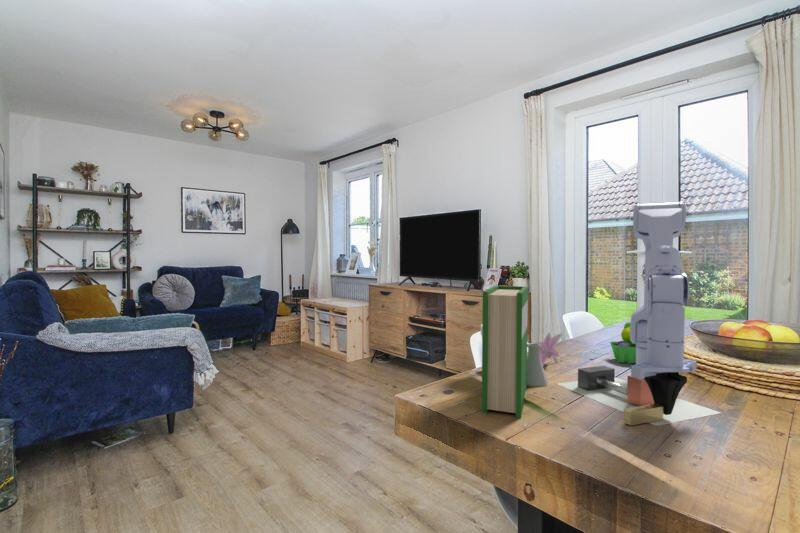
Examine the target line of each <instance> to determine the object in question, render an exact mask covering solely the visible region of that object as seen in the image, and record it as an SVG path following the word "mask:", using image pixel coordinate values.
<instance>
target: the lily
mask: <svg viewBox="0 0 800 533" xmlns="http://www.w3.org/2000/svg"><path fill="white" fill-rule="evenodd" d="M562 336H563V333H558V334H556V335H554V336H551V333H550V332H548V333H547V334H546V336H545V338H544V339H543V341H537V342H534V343H535V344H540V345H541V348H540V357H541V362H542V365H543V366H544V365H545V363H546V361H547V360H548V359H554V361H555V363H556V364H558V361H557V359H556V358H559V357H560V355H559V352H558V351H557V350H556V348H555V346H556V345H557V343H558V342H559V340H560V339H561V338H562Z"/></svg>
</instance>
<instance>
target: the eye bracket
mask: <svg viewBox="0 0 800 533" xmlns="http://www.w3.org/2000/svg"><path fill="white" fill-rule="evenodd" d="M615 370H616V369H615V368H612V367H610V366H606V365H599V366H598V365H597V366H592V367H591V366H589V367H581V368H578V369H577V381H578V387H579V388H582V389H584V390H587V391H591V390H598V389H605V388H606V387H603V386H601V385H598V384H597V377H599V378H602V379H605V380H608V381H611V382H614V378H615V377H616V376H615V374H616V373H615Z"/></svg>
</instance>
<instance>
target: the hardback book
mask: <svg viewBox="0 0 800 533" xmlns="http://www.w3.org/2000/svg"><path fill="white" fill-rule="evenodd" d="M528 299H529V286H519V285H517V286H516V285H515V286H513V285H493V286H492V287H489V288H488V289H486V290H483V291H482V335H481V343H482V344H481V346H482V349H481V350H482V351H481V356H482V357H481V414H488V412H489V410H492V411H498V412H505V413H513V414H515V419H522V414H523V410H524V405H525V400H526V390H527V386H528V385H527V357H528V347H527V344H528V318H529V317H528V313H529V311H528V310H529V309H528V308H529V307H528V304H529V302H528V301H529V300H528Z"/></svg>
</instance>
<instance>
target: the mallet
mask: <svg viewBox="0 0 800 533" xmlns="http://www.w3.org/2000/svg"><path fill="white" fill-rule="evenodd" d="M626 381H627V387H625V386H622V385H619V384H616V383H614V382H611V381H608V380H605V379H602V378H599V377H597V384H598V385H601V386H603V387H606V388H609V389H611V390H614V391H617V392H619V393H622V394H625V395H627V402H629V403H632V404H634V405H637V406H644V405H650V404H654V400H653V396H652V393H651V391H650V388H649V386H648V384H647V383H646V381H645V379H639V378H636V377H633V376H631V375H627V380H626Z"/></svg>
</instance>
